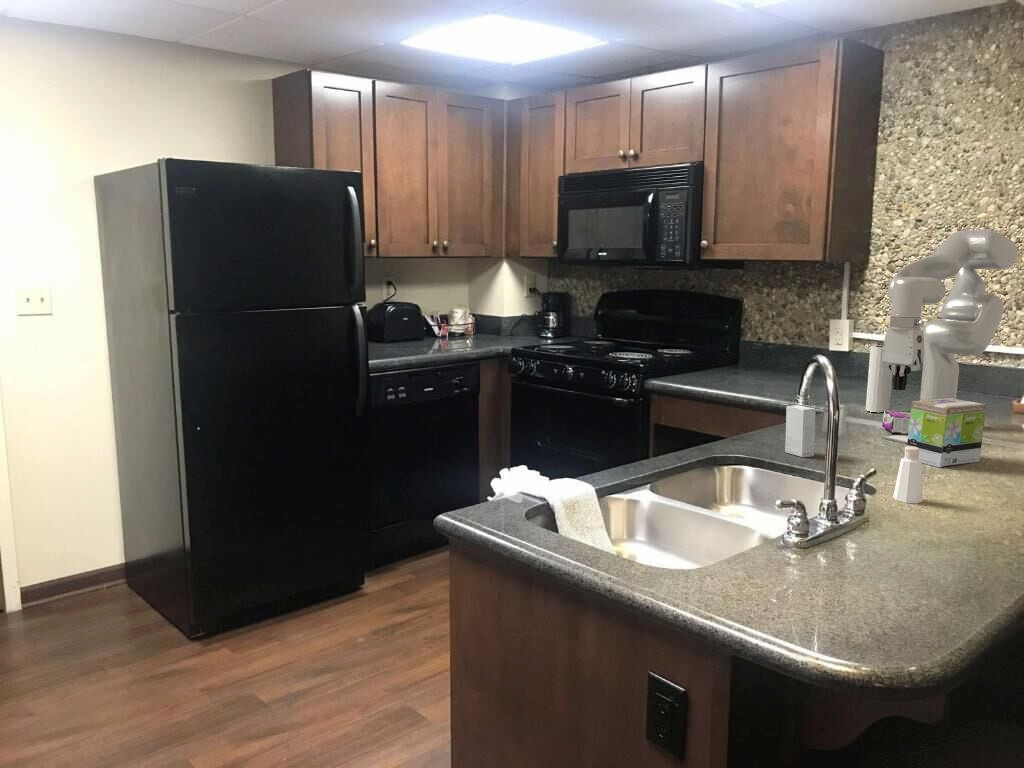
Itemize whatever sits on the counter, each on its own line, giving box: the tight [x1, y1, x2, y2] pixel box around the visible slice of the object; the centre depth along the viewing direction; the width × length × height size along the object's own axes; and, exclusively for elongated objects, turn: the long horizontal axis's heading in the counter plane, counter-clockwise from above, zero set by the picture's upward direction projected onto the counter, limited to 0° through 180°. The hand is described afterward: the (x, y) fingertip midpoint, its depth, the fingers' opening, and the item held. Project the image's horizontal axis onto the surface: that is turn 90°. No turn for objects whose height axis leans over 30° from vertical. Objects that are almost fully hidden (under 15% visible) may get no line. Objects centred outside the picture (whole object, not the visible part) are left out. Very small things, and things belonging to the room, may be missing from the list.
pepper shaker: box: [893, 445, 923, 505], centre depth 167 cm, size 5×5×11 cm
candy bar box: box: [881, 410, 911, 434], centre depth 231 cm, size 11×5×16 cm
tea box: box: [906, 398, 987, 468], centre depth 200 cm, size 15×10×15 cm
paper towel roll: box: [865, 345, 893, 413], centre depth 263 cm, size 7×6×21 cm
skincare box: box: [784, 404, 817, 458], centre depth 205 cm, size 6×4×12 cm
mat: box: [881, 433, 908, 444], centre depth 221 cm, size 13×16×1 cm
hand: (899, 389), depth 227 cm, fingers closed
